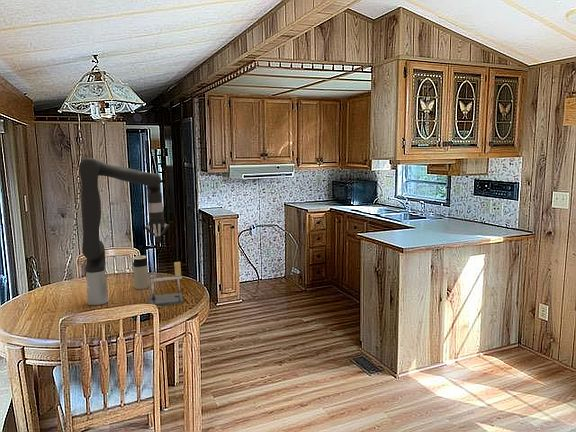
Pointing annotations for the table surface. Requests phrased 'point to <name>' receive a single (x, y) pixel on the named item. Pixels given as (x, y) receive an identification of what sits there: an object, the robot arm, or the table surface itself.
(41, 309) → the table surface
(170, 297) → the bolt plate
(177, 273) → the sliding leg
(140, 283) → the travel mug
